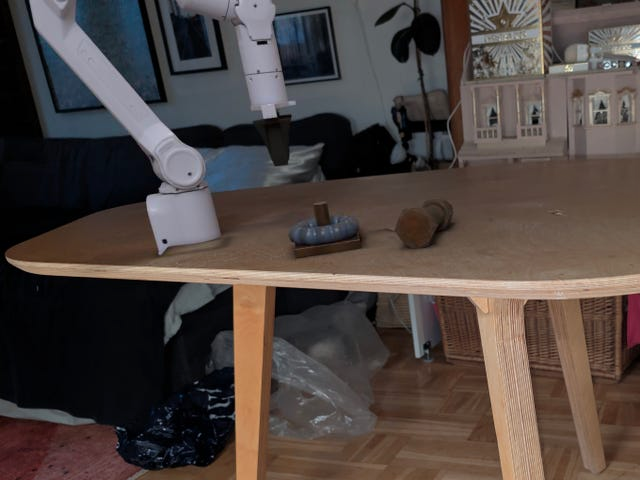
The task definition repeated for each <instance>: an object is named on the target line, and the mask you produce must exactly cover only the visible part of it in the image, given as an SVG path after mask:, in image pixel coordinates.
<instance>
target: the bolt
mask: <svg viewBox="0 0 640 480" xmlns="http://www.w3.org/2000/svg"><path fill="white" fill-rule="evenodd" d="M453 215H454V207H453V204H451V203H450V202H449V201H448V200H445V199H444V198H432V199H426V200H424V202H423V204H422V206H421V207H411V208H410V207H409V208H403V209H402V210H401V212H400V214H399V216H398V218H397V221H396V224H395V227H394V231H395V233H396V235H397V237H398V238H399V240H400V241H401V242H402V244H404V246H406V248H410V249H415V248H425V247H426V248H427V247H429V246H431V244H432V242H433V240H434V237H435V234H436V232H437V231H445V230H447V228H448V226H449V225H450V223H451V220H452V218H453Z"/></svg>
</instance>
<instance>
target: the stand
mask: <svg viewBox="0 0 640 480" xmlns="http://www.w3.org/2000/svg"><path fill="white" fill-rule="evenodd" d="M312 207H313V213H314V218H316V223H317V227H320V226H327V225H331V221H330V216H331V214H330V211H329V205H328V202H327V201H318V202H314V203H312ZM293 249H294V255H295V258H296V259H298V258H306V257H311V256H318V255H325V254H331V253H336V252H337V253H338V252H344V251H351V250H357V249H362V244H361V239H360V236H359V232H358V233H357V234H355V235H354V236H352V237H350V238H348V239H344V240H341V241H337V242H333V243H326V244H319V245H301V244H297V243H294V248H293Z"/></svg>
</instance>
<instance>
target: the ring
mask: <svg viewBox="0 0 640 480" xmlns="http://www.w3.org/2000/svg"><path fill="white" fill-rule="evenodd" d="M330 221H331V225H327V226H320V227H317V223H316V218H315V217H312V218H308V219H305V220H304V219H303V220H301V221H298V222H296V223H294V224H292V225H290V227H289V229H288V233H287V236H288V238H289V240H290V242H292V243H293V244H295V243H297V244H301V245H319V244H326V243H333V242H337V241H341V240H344V239H348V238H350V237H352V236H354V235H355V234H357V233H358V234H359V231H360V223H359V220H358V219H357V217H355V216H352V215H347V214H338V215H337V214H334V215H333V214H332V215H331V214H330Z"/></svg>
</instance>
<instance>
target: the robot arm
mask: <svg viewBox="0 0 640 480" xmlns="http://www.w3.org/2000/svg"><path fill="white" fill-rule="evenodd" d="M175 1H176V3H177V4H178V6H179V7H180V8H181V9H182V10H184V11H187V12H190V13H193V14H196V15H200V16H203V17H207V18H210V19H212V20H217V21H219V22H223V23H228V22H229V23H230V25H231V26H232V27H233V28H234V29H235V34H236V38H237V45H238V50H239V55H240V60H241V65H242V68H243V72H244V77H245V78H244V79H245V82H246V87H247V91H248V96H249V101H250V111H251V112H261V114H262V118H260V119H257V120H256V119H255V120H252V125H253V127H254V128H255V129H256V130H257V132H258V133H259V135H260V136H261V138H262V140H263V142H264V144H265V146H266V149H267V151H268V154H269V156H270V159H271V161H272V164H273V166H274V167H282V166H287V165H288V166H289V161H290V156H291V152H290V151H291V150H290V126H291V121H292V118H293V114H292V113H287V114H281V113H282V112H281V109H286V108H290V107H292V106H293V107H294V106H297V101H296V100H289V99H288V93H287V88H286V84H285V79H284V74H283V69H282V64H281V59H280V58H281V57H280V54H279V53H280V52H279V48H278V44H277V43H278V42H277V39H276V36H275V30H274V25H273V22H274V19H275V17H276V4H275V3H273V1H272V0H175ZM28 2H29V5H30V11H31V17H32V21H33V26H34V28H35V30H36V31H37V32H38V34H39V35H40V36H41V38H43V40H44V41H46V42H47V44H48V45H49V46H50V47H51V48H52V50H54V52H55V53H56V54H57V55H58V56H59V57H60V58H61V59H62V60H63V62H64V63H65V64H66V65H67V66H68V67H69V68H70V70H71V71H73V73H74V74H75V75H76V76H77V77H78V78H79V80H81V81H82V83H83V84H84V85H85V86H86V88H87V89H89V91H90V92H91V93H92V94H93V95H94V96H95V97H96V98H97V99H98V100H99V102H100V103H101V104H102V105H103V106H104V108H106V110H108V112H109V113H110V114H111V115H112V116H113V117H114V118H115V120H116V121H117V122H118V123H119V124H120V125H121V126H122V127H123V128H124V130H126V132H127V133H128V134H129V135H130V136H131V137H132V138H133V139H134V140H135V142H136V143H137V145H138V146H139V148H140V149H141V150H142V151H143V152H144V154H146V156H147V157H148V159H149V160H150V163H151V166H152V170H153V172H154V174H155V175H156V177H158V178H159V179H160V180H161V181H163V182H162V183H161V185H160V187H158V193H153V194H152V193H151V194H148V195H147V196H146V199H145V200H146V201H145V203H146V210H147V215H148V219H149V222H150V225H151V230H152V232H153V236H154V239H155V242H156V246H157V250H158V252H157V254H158V256H161V255H162V254H163V253H164V252H165V251H166V249H167V248H169V247H175V246H185V245H194V244H199V243H205V242H209V241H212V240H215V239H218V238H220V237H221V236H222V232H221V228H220V225H219V221H218V216H217V212H216V208H215V204H214V201H213V200H214V199H213V197H212V192H211V188H210V185H209V182H208V181H204V178H205V176H206V171H207V169H206V162H205V159H204V157H203V156H202V154H201V153H200V152H199V151H198V150H197V149H196V148H194V147H191V146H189V145H187V144H186V143H184V142H182V141H181V140H180V139H179V138H178V137H177V135H176V134H175V133H174V132H173V131H172V130H171V129H170V128H169V127H168V126H167V125H165V124H164V123H163V122H162V120H161V119H160V118H159V117H158V116H157V115H156V114H155V113H154V111H153V110H152V109H151V108H150V106H149V105H148V104H147V103H146V102H145V101H144V100H143V99H142V98H141V96H140V95H139V94H138V93H137V91H135V89H134V88H133V87H132V86H131V84H130V83H129V82H128V81H127V80H126V78H124V77H123V75H122V74H121V73H120V72H119V71H118V69H117V68H116V67H115V66H114V64H112V62H111V61H110V60H109V59H108V57H106V55H104V53H103V52H102V50H100V48H99V47H98V46H97V45H96V44H95V43H94V42H93V40H92V39H91V38H90V36H88V35H87V34H86V32H85V31H84V30H83V29H82V28H81V26H79V24H78V23H77V21H76V9H77V8H76V7H77V0H29V1H28Z"/></svg>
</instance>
